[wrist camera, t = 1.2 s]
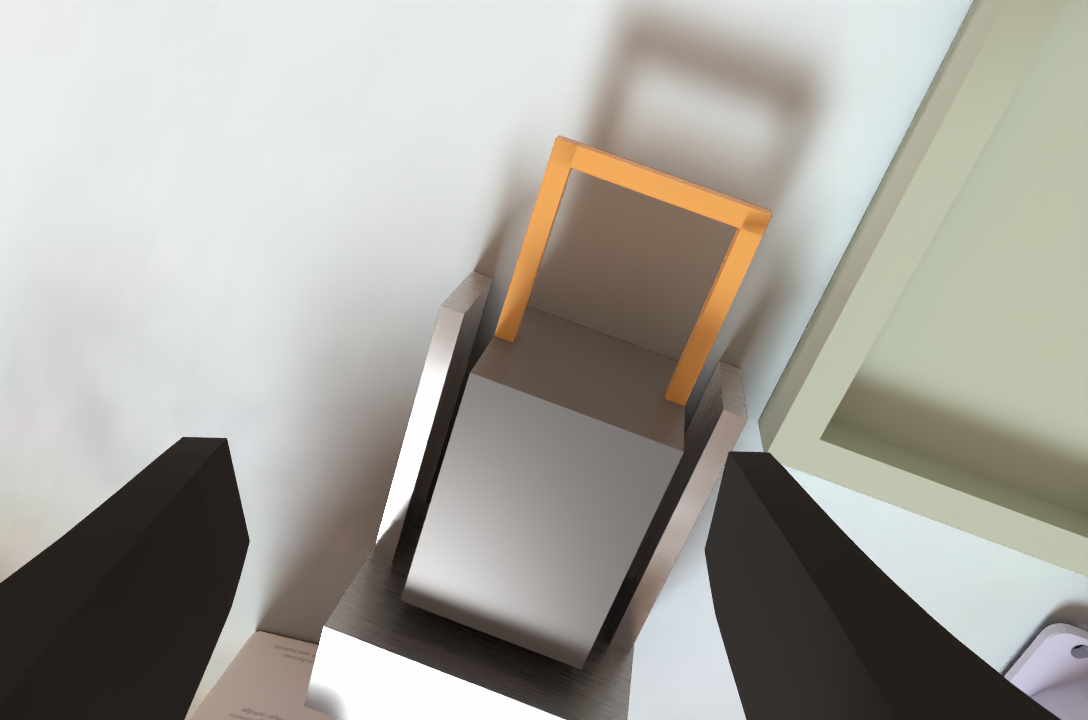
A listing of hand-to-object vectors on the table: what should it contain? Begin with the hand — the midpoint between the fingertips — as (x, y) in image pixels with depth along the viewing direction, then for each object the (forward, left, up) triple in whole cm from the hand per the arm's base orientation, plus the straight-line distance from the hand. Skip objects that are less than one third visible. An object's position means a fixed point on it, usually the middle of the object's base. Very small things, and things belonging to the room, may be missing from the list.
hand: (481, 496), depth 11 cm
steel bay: (-1, +6, -10) cm, 12 cm away
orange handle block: (-1, +2, -11) cm, 11 cm away
